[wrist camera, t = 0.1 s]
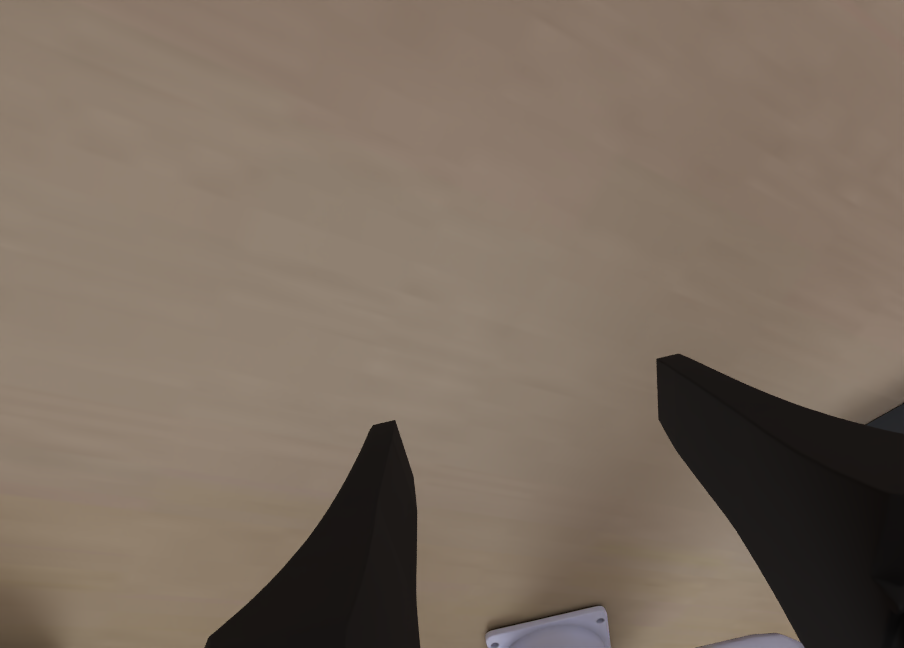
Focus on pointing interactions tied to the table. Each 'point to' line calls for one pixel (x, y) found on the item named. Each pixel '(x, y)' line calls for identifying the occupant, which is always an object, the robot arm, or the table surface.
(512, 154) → the table surface
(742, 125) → the table surface
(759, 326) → the table surface
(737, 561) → the table surface
